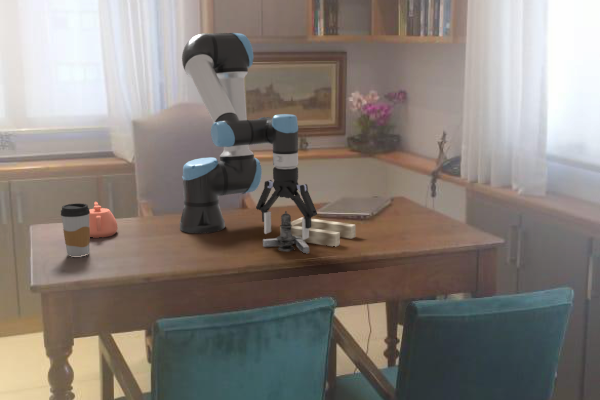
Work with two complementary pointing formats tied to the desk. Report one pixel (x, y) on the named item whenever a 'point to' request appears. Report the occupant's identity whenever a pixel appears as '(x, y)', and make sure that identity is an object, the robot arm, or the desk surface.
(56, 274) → the desk surface
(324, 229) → the bracket
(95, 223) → the teapot
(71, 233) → the coffee cup
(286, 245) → the grey tall rounded piece
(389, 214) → the desk surface
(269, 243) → the v block
